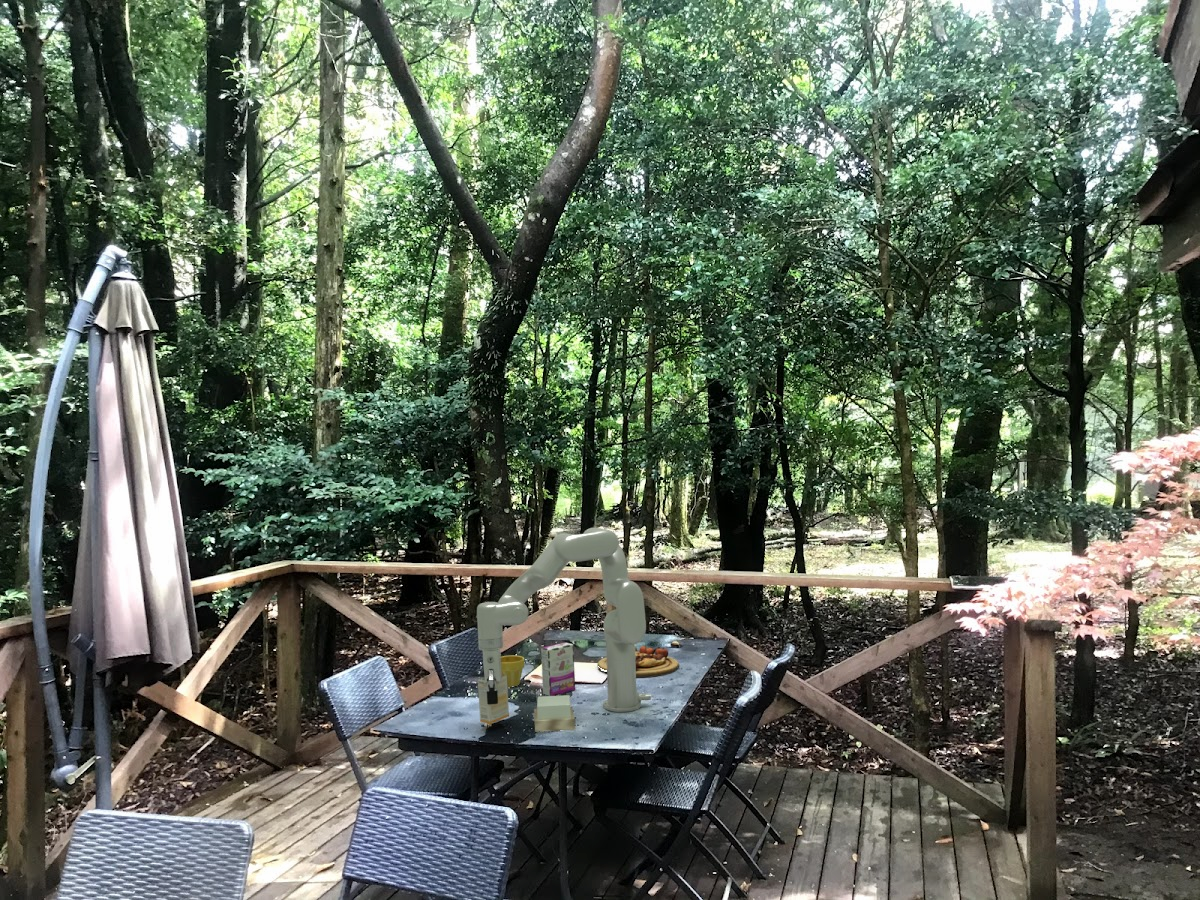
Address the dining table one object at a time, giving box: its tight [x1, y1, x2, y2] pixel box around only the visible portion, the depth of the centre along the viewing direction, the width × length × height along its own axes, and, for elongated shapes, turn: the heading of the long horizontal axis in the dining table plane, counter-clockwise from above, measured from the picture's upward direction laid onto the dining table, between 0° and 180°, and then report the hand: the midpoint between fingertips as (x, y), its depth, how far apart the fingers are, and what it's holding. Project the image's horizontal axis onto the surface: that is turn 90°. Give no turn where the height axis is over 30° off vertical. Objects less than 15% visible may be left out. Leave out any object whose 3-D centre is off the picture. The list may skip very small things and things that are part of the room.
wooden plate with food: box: [597, 645, 680, 678], centre depth 304 cm, size 32×32×8 cm
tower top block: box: [536, 694, 571, 720], centre depth 239 cm, size 10×10×4 cm
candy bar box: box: [540, 642, 576, 696], centre depth 273 cm, size 11×5×16 cm, turn 130°
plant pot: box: [501, 654, 525, 687], centre depth 283 cm, size 10×10×10 cm
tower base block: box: [533, 706, 576, 733], centre depth 239 cm, size 12×12×4 cm
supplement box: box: [477, 674, 510, 725], centre depth 238 cm, size 8×5×13 cm, turn 141°
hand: (493, 699), depth 238 cm, fingers closed on supplement box, 9 cm apart
